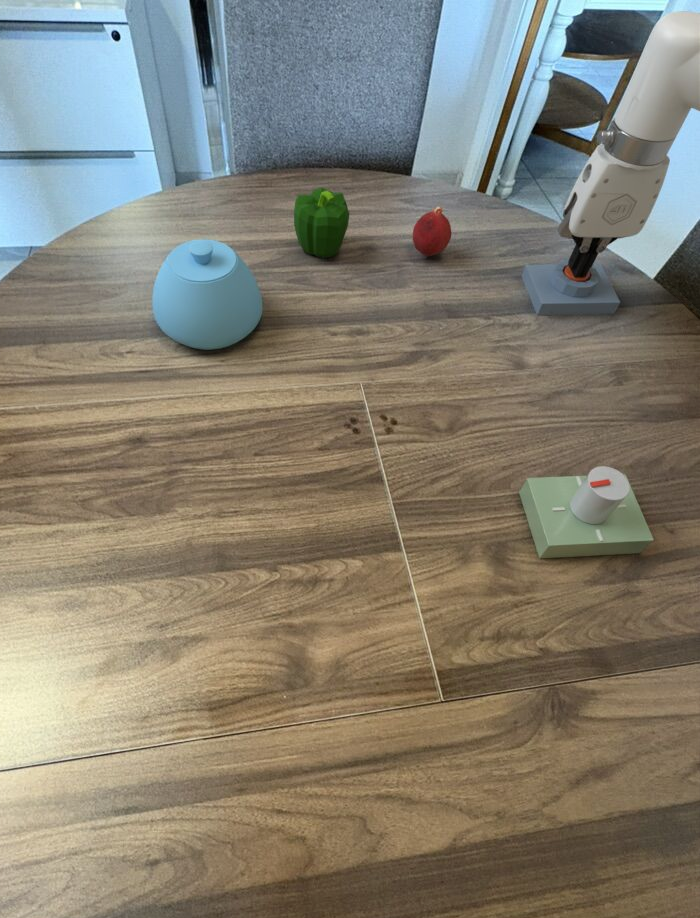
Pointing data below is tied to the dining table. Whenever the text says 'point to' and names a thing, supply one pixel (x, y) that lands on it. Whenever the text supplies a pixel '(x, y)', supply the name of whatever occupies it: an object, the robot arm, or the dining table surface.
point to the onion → (432, 233)
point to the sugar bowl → (206, 296)
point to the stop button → (577, 279)
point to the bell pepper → (321, 222)
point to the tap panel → (579, 522)
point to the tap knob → (599, 495)
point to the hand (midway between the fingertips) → (576, 271)
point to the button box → (569, 291)
